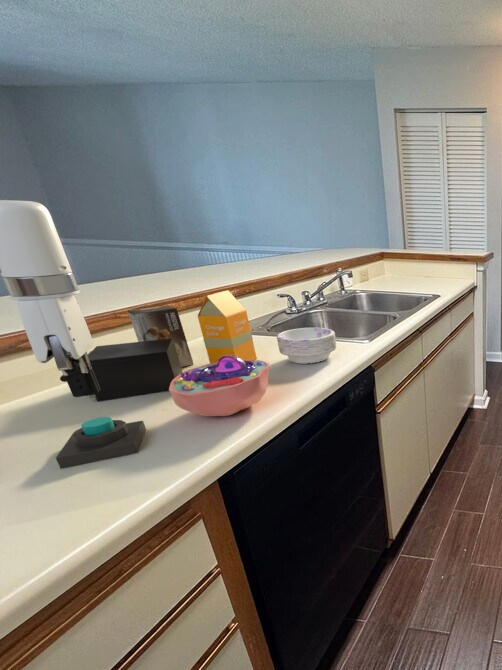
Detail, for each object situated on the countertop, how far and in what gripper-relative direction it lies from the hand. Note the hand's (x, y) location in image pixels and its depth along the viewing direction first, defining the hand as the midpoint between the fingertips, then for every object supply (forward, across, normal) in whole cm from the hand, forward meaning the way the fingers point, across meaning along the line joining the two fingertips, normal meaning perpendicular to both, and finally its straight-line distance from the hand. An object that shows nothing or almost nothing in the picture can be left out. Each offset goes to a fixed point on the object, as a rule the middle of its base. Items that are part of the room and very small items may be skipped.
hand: (87, 393), depth 73 cm
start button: (+7, 0, 0) cm, 7 cm away
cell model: (+11, -8, +19) cm, 23 cm away
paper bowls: (+11, -36, +39) cm, 54 cm away
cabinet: (+11, -33, +1) cm, 35 cm away
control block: (+11, 0, 0) cm, 11 cm away
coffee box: (+11, -47, +5) cm, 49 cm away
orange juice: (+11, -42, +20) cm, 48 cm away
